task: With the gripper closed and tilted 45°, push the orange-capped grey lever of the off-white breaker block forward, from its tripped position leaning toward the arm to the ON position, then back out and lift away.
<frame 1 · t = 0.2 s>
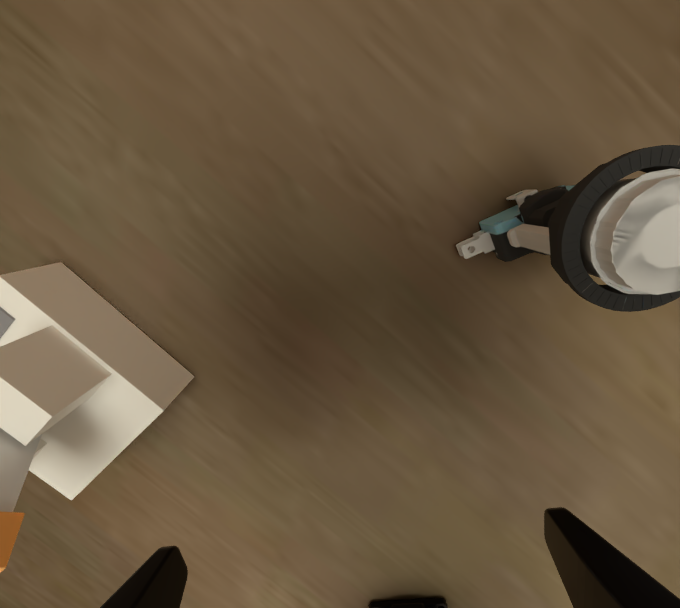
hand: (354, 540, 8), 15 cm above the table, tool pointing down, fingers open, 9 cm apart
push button: (508, 223, 20), on the table
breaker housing: (89, 367, 24), on the table
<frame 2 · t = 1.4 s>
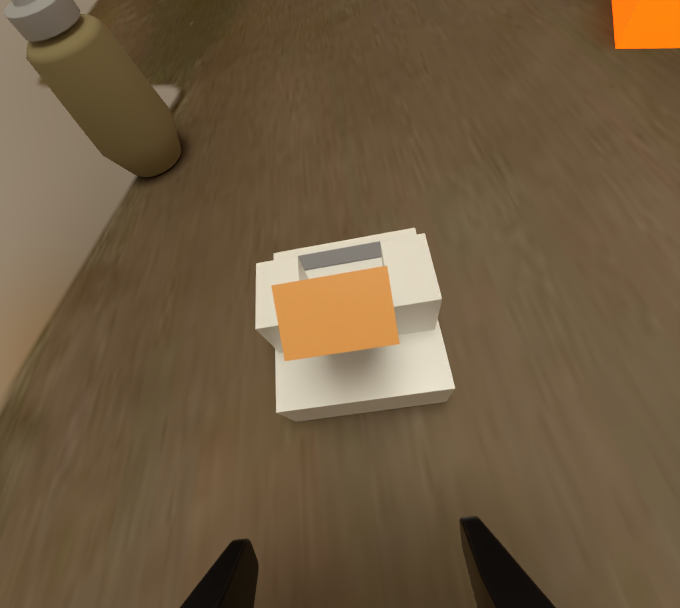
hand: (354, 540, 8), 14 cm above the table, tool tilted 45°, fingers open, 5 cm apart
orange juice: (655, 24, 35), on the table
squeeze bottle: (158, 160, 38), on the table
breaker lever: (344, 305, 17), point 9 cm above the table, hinge at -30.0°
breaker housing: (358, 334, 25), on the table
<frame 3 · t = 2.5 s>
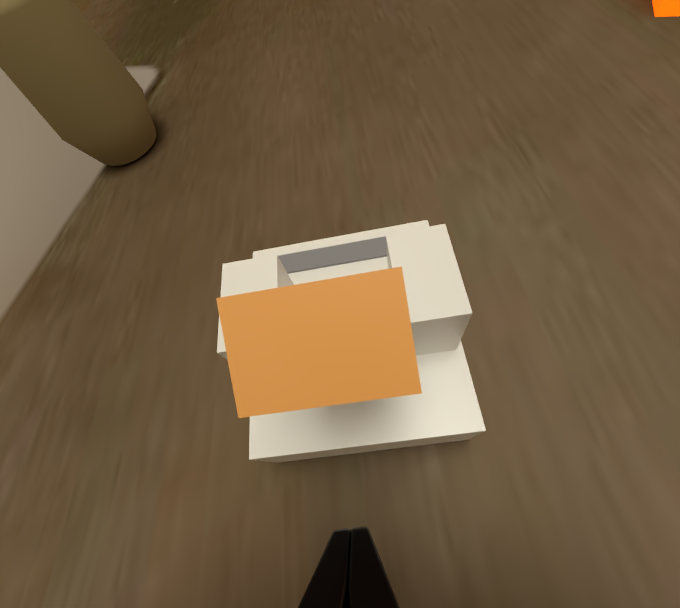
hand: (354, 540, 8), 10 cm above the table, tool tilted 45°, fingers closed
squeeze bottle: (130, 147, 33), on the table
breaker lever: (336, 321, 12), point 9 cm above the table, hinge at -30.0°
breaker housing: (358, 351, 21), on the table
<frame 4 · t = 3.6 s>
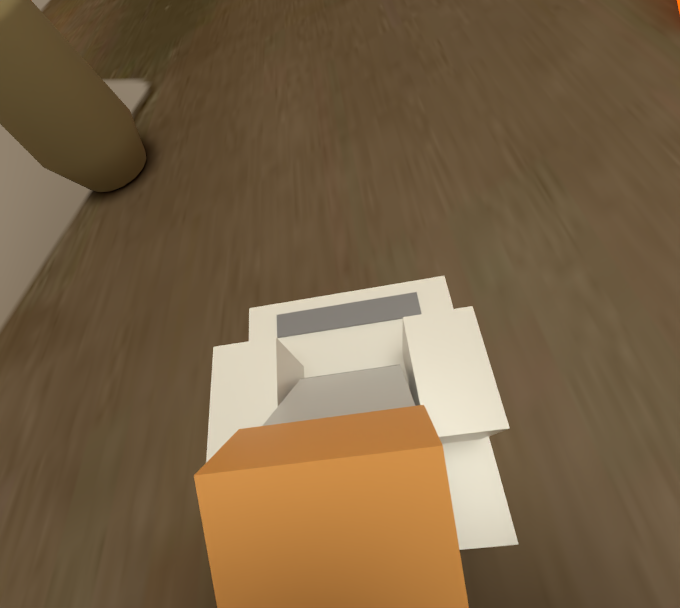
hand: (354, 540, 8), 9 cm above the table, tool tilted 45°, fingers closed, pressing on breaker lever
squeeze bottle: (119, 170, 31), on the table
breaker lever: (347, 433, 10), point 9 cm above the table, hinge at -27.7°, touching gripper
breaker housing: (366, 416, 19), on the table
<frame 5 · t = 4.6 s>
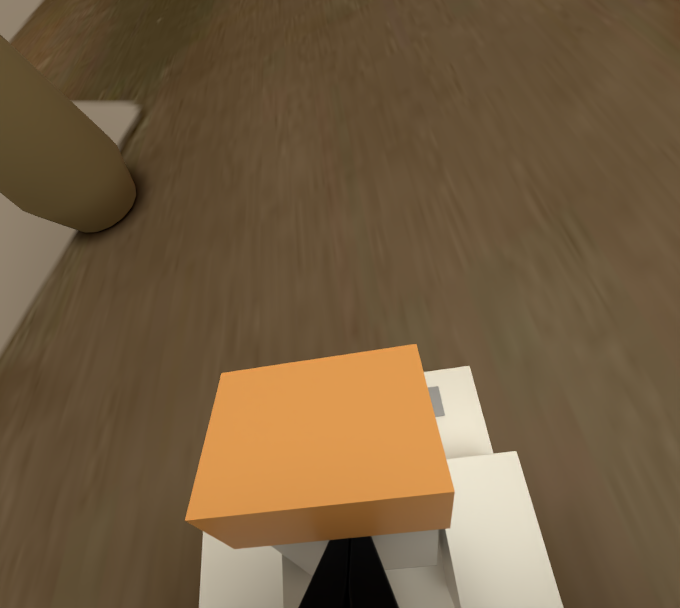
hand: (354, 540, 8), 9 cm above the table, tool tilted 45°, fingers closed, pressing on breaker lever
squeeze bottle: (107, 206, 29), on the table
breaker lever: (354, 500, 9), point 9 cm above the table, hinge at 21.2°, touching gripper
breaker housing: (379, 512, 17), on the table
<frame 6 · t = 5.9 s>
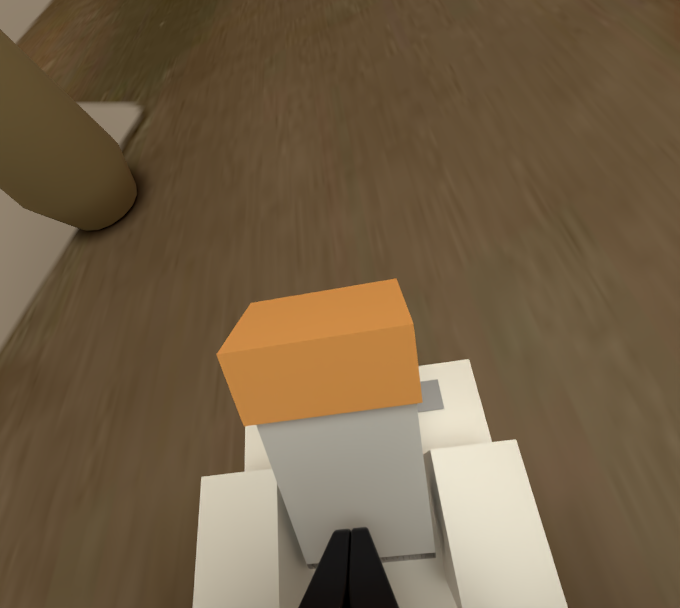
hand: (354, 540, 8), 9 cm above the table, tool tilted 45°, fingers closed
squeeze bottle: (107, 205, 29), on the table
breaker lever: (349, 448, 10), point 8 cm above the table, hinge at 40.8°
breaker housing: (378, 509, 16), on the table
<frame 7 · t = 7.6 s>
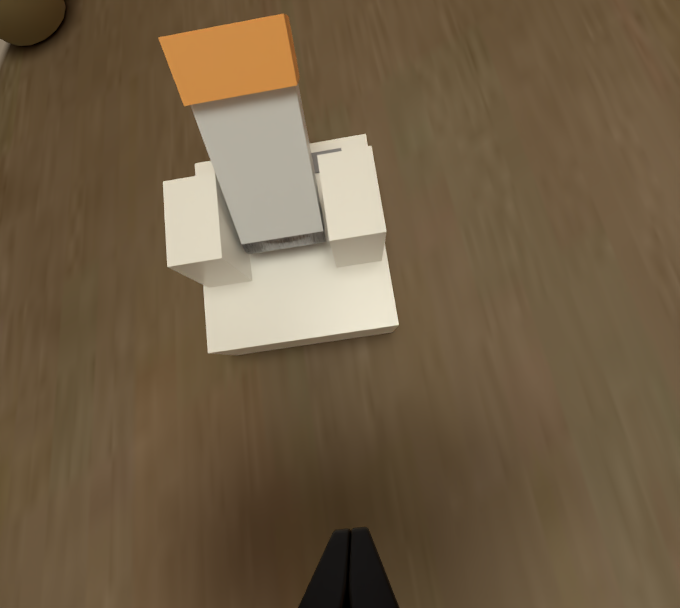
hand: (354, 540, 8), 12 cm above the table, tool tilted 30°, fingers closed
squeeze bottle: (35, 19, 28), on the table
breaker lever: (264, 156, 15), point 8 cm above the table, hinge at 40.9°
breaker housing: (303, 260, 23), on the table
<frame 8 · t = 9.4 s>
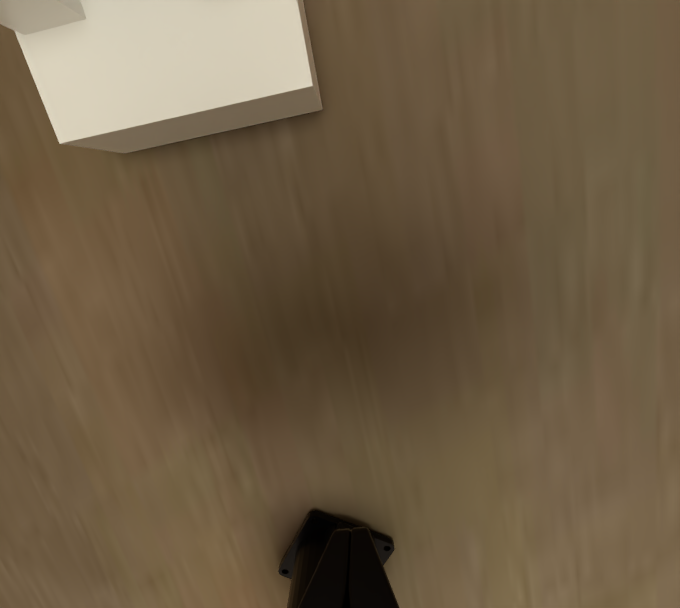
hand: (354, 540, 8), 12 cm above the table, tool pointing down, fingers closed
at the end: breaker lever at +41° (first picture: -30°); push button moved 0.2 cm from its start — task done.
